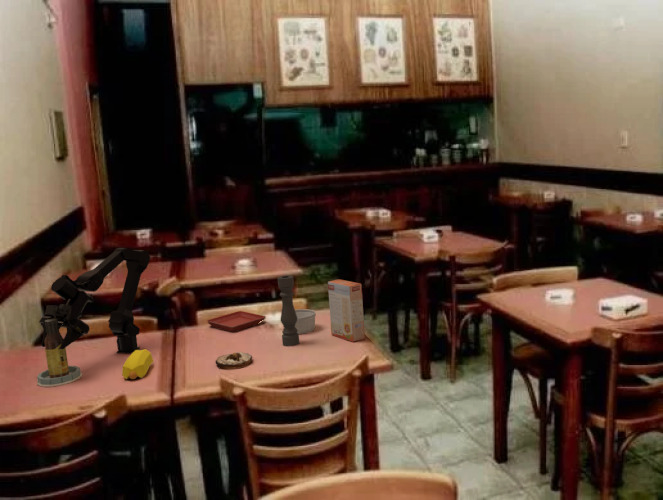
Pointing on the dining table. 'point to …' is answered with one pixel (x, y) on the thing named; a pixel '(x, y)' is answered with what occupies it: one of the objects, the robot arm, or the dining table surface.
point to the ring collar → (59, 378)
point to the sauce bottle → (55, 350)
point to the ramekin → (305, 320)
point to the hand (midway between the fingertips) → (51, 347)
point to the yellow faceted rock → (137, 364)
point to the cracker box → (346, 310)
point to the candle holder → (288, 311)
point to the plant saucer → (236, 321)
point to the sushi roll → (234, 360)
